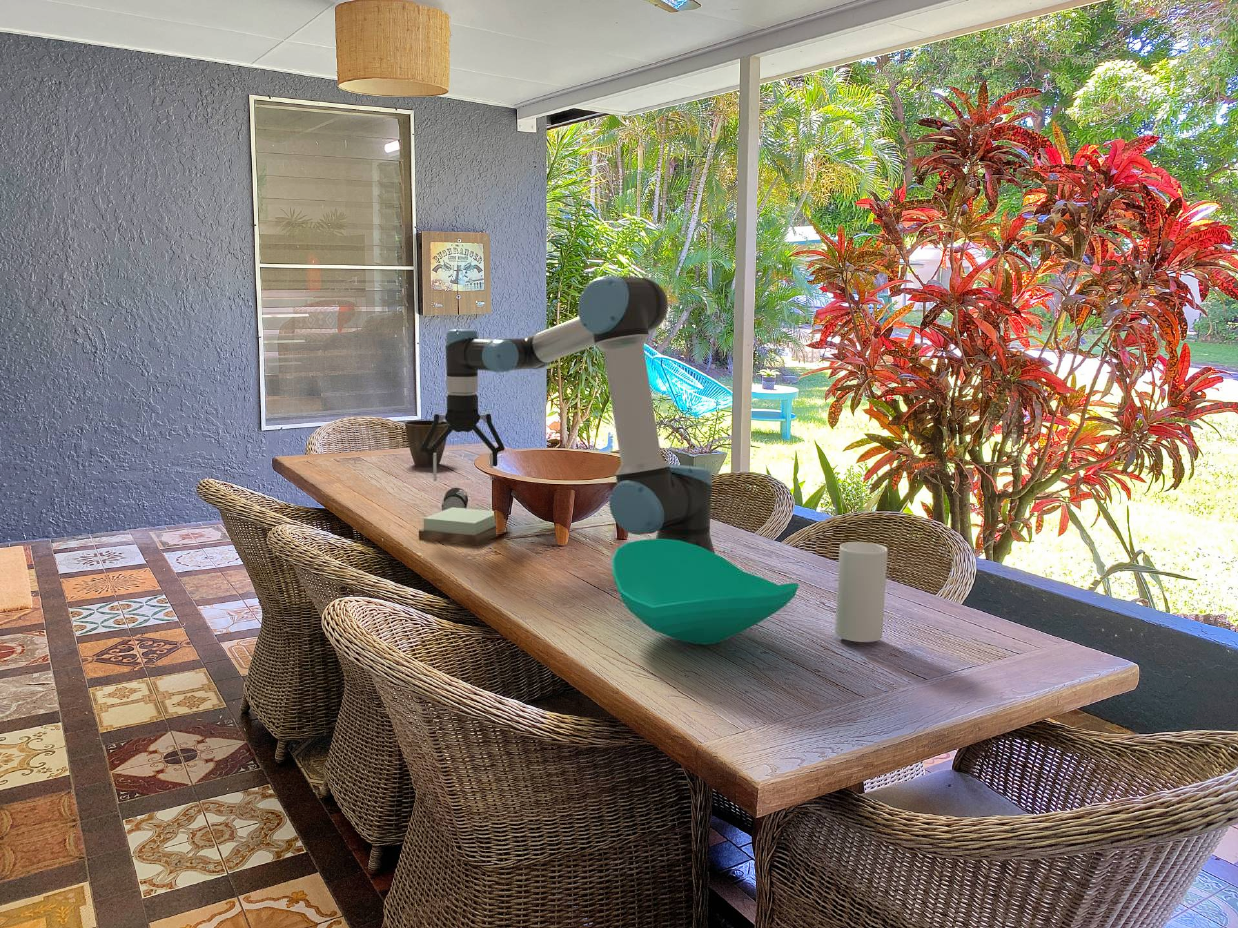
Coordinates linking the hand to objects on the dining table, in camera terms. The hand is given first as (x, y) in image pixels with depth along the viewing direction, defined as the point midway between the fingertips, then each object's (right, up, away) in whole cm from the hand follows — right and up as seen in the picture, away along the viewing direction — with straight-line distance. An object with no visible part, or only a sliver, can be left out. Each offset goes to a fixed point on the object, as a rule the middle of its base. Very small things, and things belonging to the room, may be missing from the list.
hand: (463, 479), depth 241 cm
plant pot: (-28, +2, +99) cm, 103 cm away
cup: (+81, -27, -66) cm, 108 cm away
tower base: (0, -15, +2) cm, 15 cm away
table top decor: (+52, -27, -69) cm, 91 cm away
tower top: (0, -12, +2) cm, 12 cm away
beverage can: (-7, -6, +31) cm, 32 cm away
